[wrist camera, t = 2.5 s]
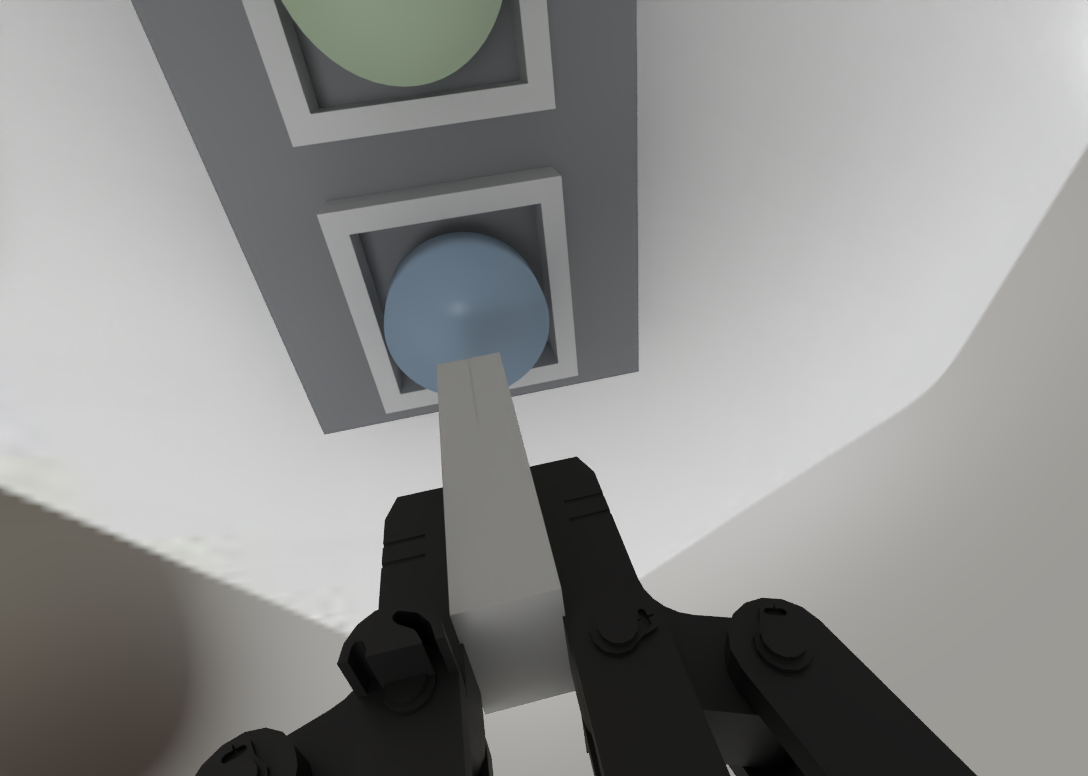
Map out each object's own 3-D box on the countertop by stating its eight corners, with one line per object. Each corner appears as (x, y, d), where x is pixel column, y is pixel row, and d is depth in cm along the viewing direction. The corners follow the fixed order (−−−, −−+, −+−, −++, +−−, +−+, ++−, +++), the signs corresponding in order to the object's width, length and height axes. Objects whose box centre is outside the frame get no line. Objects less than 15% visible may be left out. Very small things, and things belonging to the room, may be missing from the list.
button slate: (530, 219, 16) (540, 235, 15) (547, 357, 19) (556, 381, 18) (366, 246, 16) (361, 265, 14) (408, 384, 19) (407, 410, 17)
